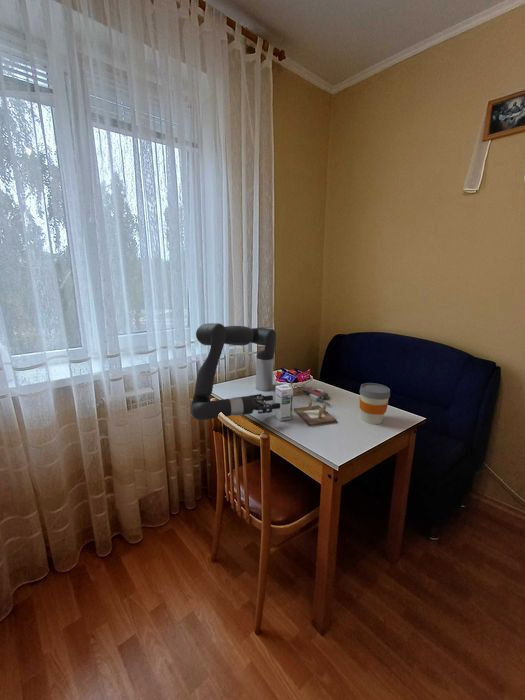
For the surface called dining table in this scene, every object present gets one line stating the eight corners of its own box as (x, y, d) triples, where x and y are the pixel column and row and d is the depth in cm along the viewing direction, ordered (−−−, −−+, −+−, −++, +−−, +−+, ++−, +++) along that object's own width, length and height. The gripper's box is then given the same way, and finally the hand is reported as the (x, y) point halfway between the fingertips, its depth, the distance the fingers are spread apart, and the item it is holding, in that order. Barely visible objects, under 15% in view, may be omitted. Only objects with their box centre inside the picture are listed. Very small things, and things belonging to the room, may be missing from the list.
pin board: (293, 410, 147) (294, 399, 146) (318, 407, 152) (319, 396, 150) (309, 426, 133) (310, 414, 131) (336, 422, 137) (337, 410, 136)
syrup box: (280, 421, 137) (281, 389, 133) (274, 415, 142) (275, 385, 138) (291, 419, 139) (293, 388, 135) (285, 413, 144) (287, 383, 140)
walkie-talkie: (299, 394, 168) (328, 408, 152) (300, 386, 167) (328, 399, 151) (311, 391, 173) (340, 403, 157) (311, 383, 172) (340, 395, 156)
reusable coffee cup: (350, 416, 143) (354, 385, 139) (369, 411, 149) (373, 381, 145) (372, 428, 132) (377, 395, 129) (392, 422, 139) (397, 390, 135)
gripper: (245, 404, 125) (283, 399, 130) (235, 391, 138) (270, 387, 143) (244, 421, 126) (282, 416, 132) (235, 407, 139) (270, 403, 145)
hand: (276, 401), depth 137 cm, fingers open, 8 cm apart
